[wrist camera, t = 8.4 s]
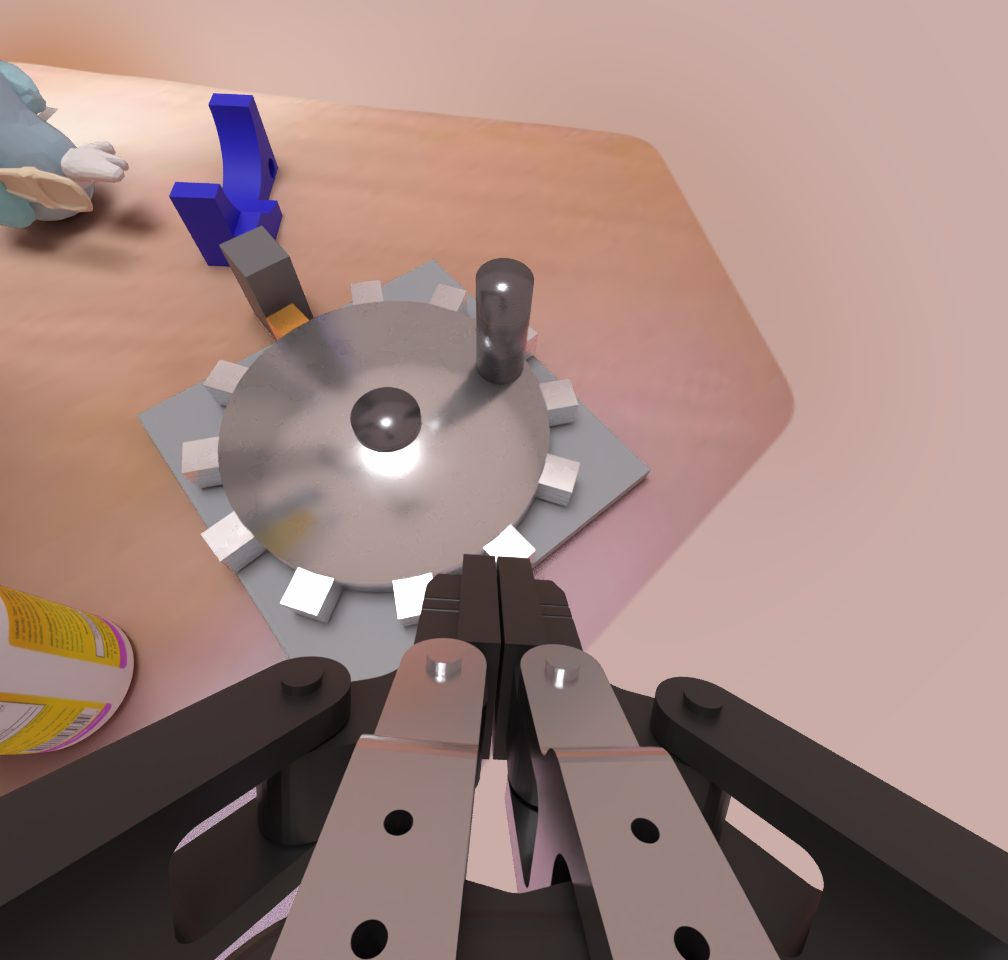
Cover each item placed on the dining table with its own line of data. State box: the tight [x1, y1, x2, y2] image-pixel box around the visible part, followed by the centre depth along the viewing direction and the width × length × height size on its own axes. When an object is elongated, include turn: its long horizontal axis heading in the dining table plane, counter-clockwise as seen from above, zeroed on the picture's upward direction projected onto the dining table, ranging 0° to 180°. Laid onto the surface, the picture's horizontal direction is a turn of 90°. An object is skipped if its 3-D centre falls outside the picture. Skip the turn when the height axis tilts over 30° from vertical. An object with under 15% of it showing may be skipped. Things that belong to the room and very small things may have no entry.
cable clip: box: [169, 93, 282, 266], centre depth 41 cm, size 12×4×6 cm, turn 179°
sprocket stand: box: [137, 226, 651, 682], centre depth 33 cm, size 28×23×6 cm
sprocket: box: [182, 258, 580, 627], centre depth 29 cm, size 23×23×9 cm
